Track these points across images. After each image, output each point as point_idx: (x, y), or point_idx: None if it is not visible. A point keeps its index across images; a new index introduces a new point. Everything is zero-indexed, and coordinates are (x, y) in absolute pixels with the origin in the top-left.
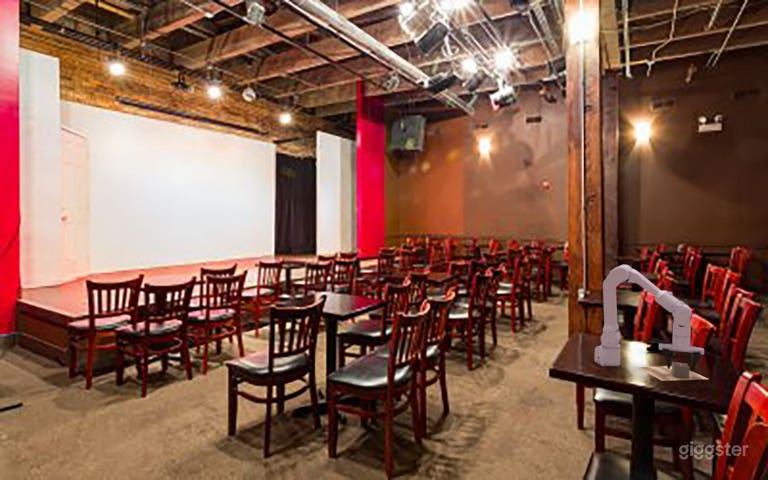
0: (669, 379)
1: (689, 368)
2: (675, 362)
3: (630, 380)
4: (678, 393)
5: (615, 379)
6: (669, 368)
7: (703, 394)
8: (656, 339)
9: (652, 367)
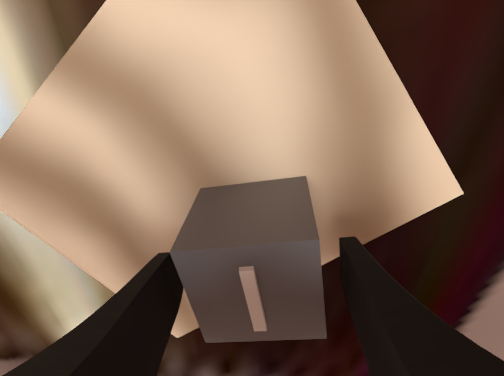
0: None
1: (324, 331)
2: (204, 256)
3: (58, 325)
4: (254, 372)
5: (10, 337)
6: (179, 288)
7: (354, 350)
8: None
9: (45, 123)
